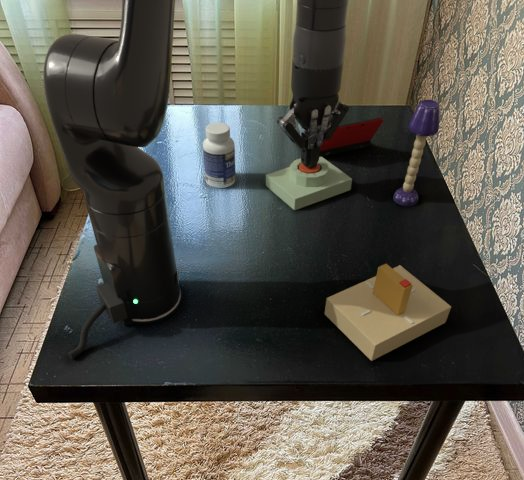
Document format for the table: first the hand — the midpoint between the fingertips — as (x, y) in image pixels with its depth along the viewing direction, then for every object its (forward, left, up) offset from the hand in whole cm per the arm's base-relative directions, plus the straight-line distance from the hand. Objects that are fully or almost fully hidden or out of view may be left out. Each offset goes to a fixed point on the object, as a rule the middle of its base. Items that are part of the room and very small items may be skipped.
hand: (309, 165), depth 92 cm
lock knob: (-10, -32, -1) cm, 34 cm away
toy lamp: (+12, -12, -4) cm, 18 cm away
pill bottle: (-12, +10, -4) cm, 16 cm away
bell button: (0, 0, -2) cm, 2 cm away
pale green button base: (0, 0, -4) cm, 4 cm away
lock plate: (-10, -32, -4) cm, 34 cm away
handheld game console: (+13, +8, -4) cm, 16 cm away
